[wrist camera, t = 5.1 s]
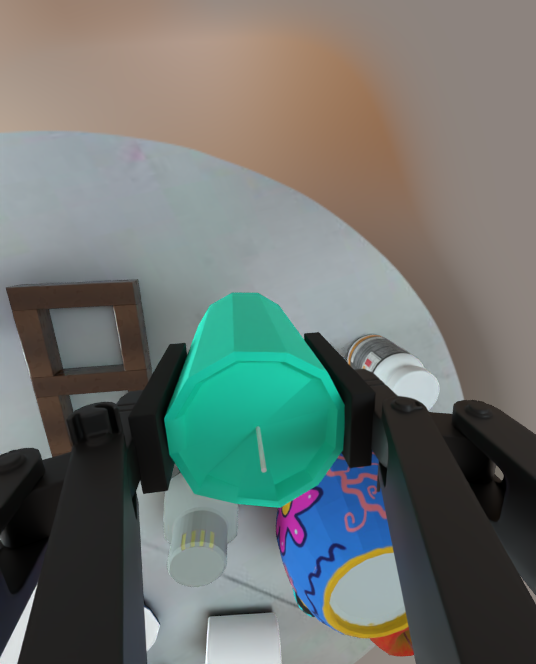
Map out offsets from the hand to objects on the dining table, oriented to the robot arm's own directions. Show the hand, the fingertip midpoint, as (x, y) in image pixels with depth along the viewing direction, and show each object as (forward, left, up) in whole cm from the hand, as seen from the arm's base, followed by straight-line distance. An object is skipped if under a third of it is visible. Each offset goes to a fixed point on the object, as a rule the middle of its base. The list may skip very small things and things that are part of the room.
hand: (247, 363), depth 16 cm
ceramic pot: (+25, +11, -19) cm, 33 cm away
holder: (+8, -16, -19) cm, 26 cm away
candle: (0, 0, -5) cm, 5 cm away
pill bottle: (+8, +15, -19) cm, 26 cm away
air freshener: (+25, -6, -19) cm, 32 cm away
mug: (+52, -3, -19) cm, 55 cm away
